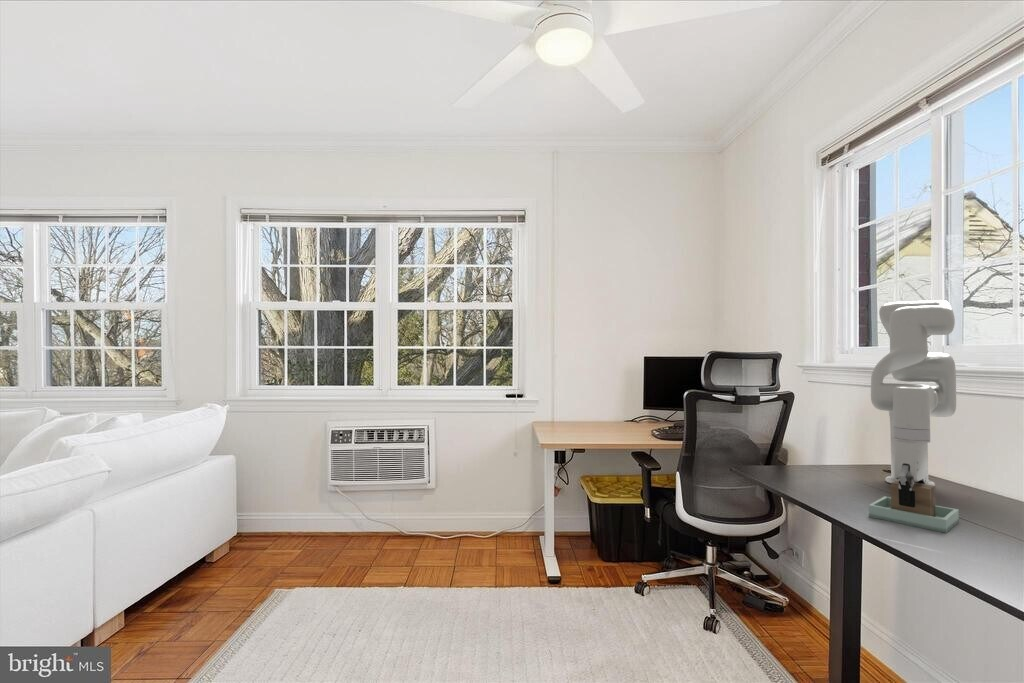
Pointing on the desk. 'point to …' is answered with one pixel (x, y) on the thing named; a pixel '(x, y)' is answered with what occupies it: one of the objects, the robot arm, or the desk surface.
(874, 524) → the desk surface
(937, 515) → the tray
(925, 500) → the walnut block
